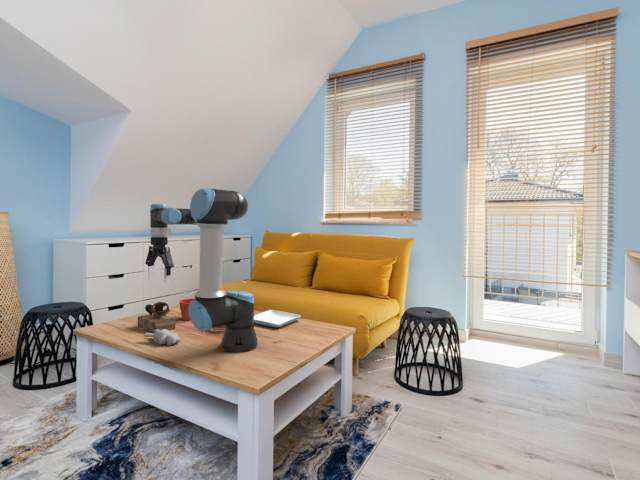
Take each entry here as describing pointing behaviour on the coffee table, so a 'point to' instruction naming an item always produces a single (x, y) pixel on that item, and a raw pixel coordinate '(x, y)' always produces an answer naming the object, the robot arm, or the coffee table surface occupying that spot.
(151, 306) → the pottery mug
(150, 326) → the walnut block
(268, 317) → the salad plate
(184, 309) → the flower pot
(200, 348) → the coffee table surface
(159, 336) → the bunny figurine
